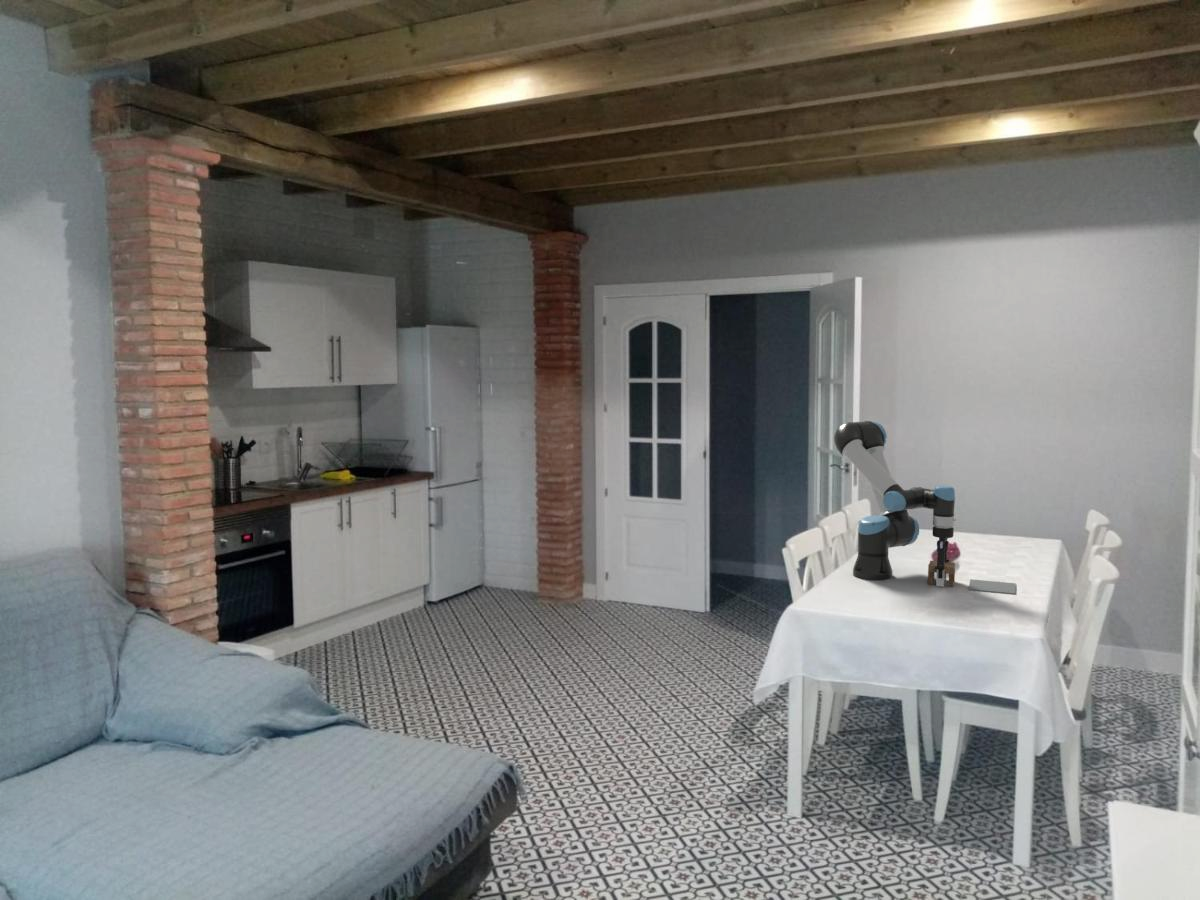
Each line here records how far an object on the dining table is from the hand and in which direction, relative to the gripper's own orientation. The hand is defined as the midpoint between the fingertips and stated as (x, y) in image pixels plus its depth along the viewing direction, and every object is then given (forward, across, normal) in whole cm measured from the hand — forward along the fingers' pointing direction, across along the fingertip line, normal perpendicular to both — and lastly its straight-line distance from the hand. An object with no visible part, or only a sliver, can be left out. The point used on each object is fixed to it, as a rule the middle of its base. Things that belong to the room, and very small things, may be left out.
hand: (941, 582), depth 352 cm
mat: (0, +1, -18) cm, 18 cm away
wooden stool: (0, 0, 0) cm, 0 cm away
